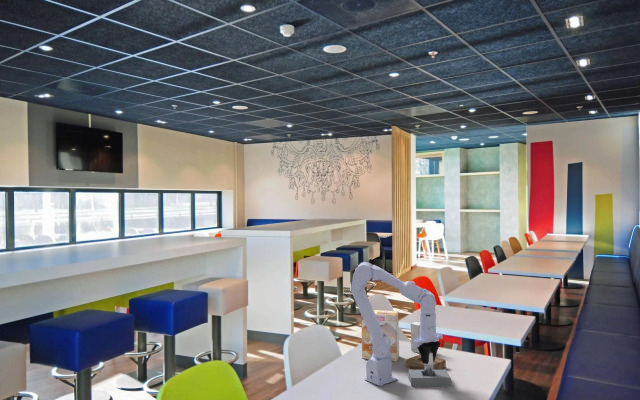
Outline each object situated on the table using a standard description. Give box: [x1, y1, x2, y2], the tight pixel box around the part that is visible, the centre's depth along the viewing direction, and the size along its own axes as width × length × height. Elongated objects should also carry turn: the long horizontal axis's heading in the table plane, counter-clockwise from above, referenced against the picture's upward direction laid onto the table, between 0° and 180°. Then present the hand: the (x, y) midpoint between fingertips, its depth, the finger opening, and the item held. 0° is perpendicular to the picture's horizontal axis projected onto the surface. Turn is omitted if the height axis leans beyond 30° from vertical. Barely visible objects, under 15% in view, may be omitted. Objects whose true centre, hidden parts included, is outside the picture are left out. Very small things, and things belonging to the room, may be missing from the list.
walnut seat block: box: [405, 354, 447, 370], centre depth 185 cm, size 11×11×3 cm
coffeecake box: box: [361, 309, 400, 362], centre depth 198 cm, size 15×7×20 cm, turn 73°
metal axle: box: [424, 351, 433, 376], centre depth 171 cm, size 3×3×8 cm
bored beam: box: [407, 369, 452, 387], centre depth 171 cm, size 14×8×3 cm, turn 87°
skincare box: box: [410, 320, 420, 354], centre depth 206 cm, size 6×4×12 cm
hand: (428, 362), depth 171 cm, fingers closed on metal axle, 3 cm apart
